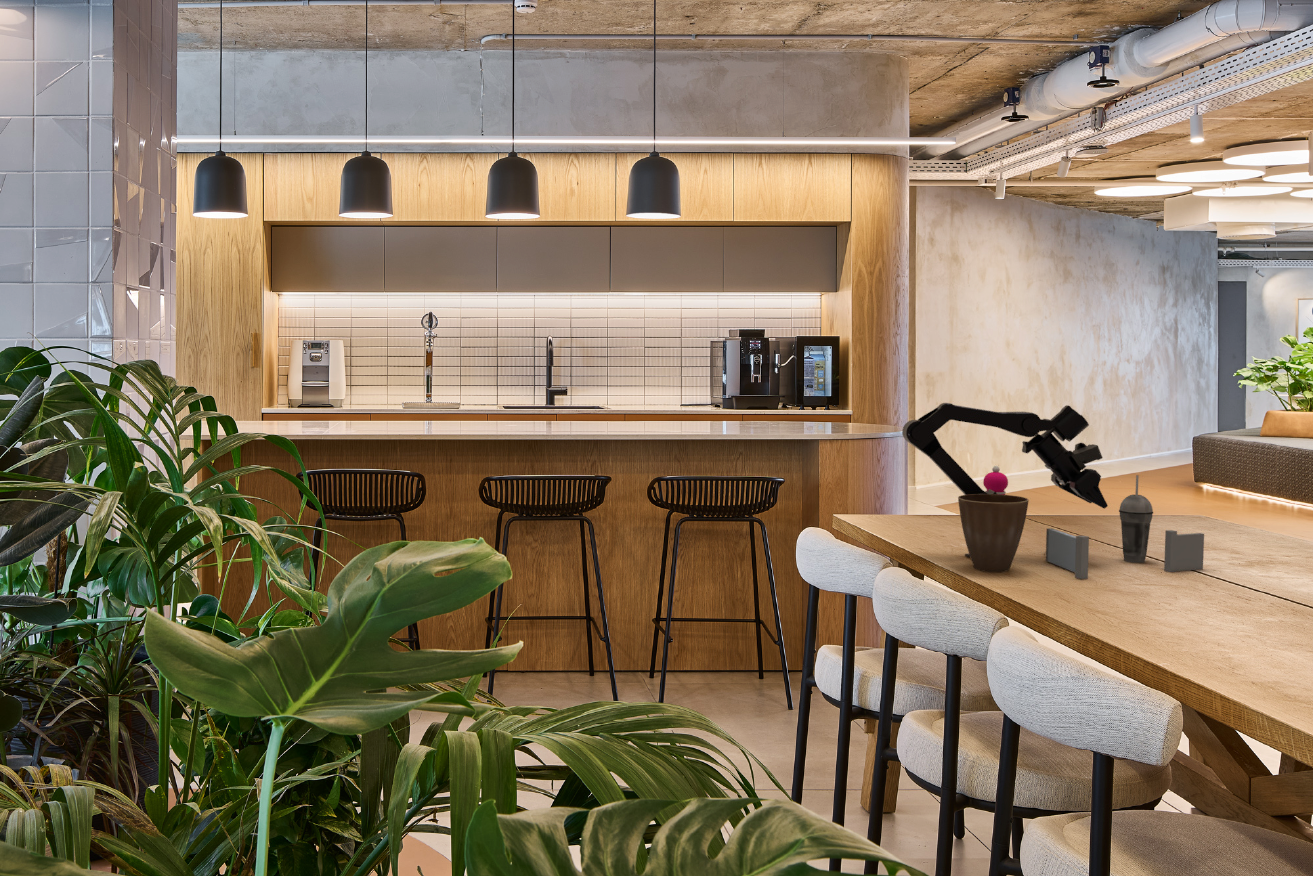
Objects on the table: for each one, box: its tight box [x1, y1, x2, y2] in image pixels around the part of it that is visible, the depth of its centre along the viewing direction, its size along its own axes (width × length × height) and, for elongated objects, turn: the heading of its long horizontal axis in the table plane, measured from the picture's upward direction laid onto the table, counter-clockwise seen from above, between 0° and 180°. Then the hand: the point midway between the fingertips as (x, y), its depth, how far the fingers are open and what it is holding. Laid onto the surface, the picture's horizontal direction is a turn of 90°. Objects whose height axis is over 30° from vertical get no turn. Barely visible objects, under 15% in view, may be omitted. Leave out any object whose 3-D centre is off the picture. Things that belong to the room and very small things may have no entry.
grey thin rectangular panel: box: [1045, 527, 1077, 573], centre depth 226 cm, size 17×1×8 cm, turn 4°
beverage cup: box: [1118, 474, 1154, 564], centre depth 235 cm, size 7×7×20 cm
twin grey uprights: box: [1074, 529, 1205, 580], centre depth 221 cm, size 34×2×9 cm, turn 109°
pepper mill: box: [982, 465, 1009, 495], centre depth 259 cm, size 7×7×20 cm
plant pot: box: [957, 494, 1029, 573], centre depth 226 cm, size 15×15×16 cm
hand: (1099, 504), depth 237 cm, fingers open, 9 cm apart
